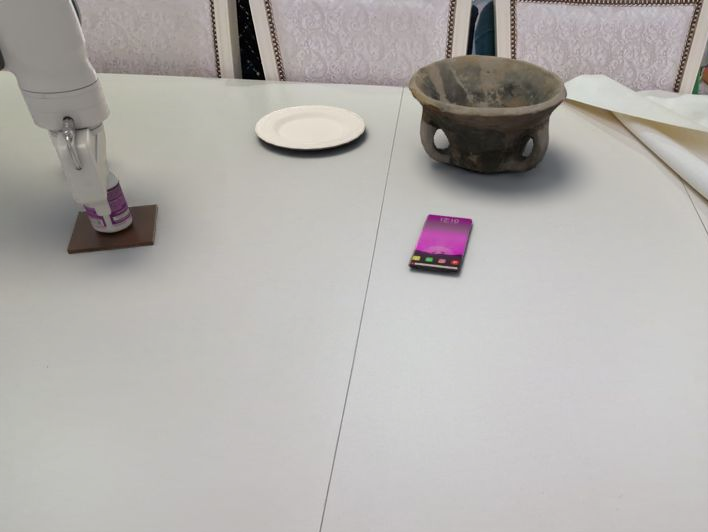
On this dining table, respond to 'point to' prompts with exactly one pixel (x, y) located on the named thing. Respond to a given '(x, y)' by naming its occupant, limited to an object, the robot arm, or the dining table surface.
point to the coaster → (131, 236)
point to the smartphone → (441, 243)
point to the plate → (310, 127)
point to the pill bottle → (119, 208)
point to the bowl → (487, 111)
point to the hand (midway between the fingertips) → (104, 201)
